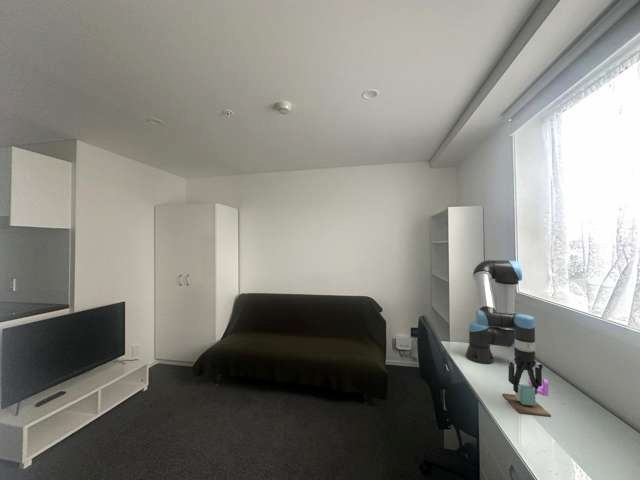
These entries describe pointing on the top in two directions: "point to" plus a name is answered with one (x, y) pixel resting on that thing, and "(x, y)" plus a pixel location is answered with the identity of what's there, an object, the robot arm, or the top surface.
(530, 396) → the teal rectangular block
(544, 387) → the bracket
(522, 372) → the robot arm
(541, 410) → the brown square panel
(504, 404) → the top surface
